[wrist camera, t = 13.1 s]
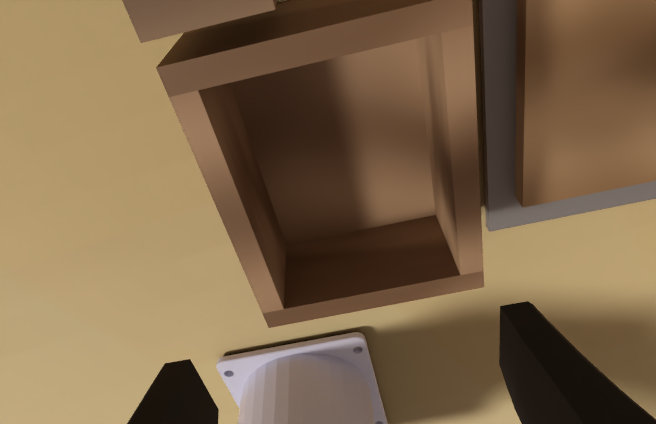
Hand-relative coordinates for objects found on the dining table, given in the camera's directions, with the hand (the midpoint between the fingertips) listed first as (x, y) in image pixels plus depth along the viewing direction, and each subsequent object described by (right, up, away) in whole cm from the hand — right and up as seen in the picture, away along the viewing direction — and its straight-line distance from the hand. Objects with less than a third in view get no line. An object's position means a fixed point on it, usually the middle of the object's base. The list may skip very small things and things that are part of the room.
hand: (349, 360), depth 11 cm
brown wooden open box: (-1, +8, +6) cm, 10 cm away
